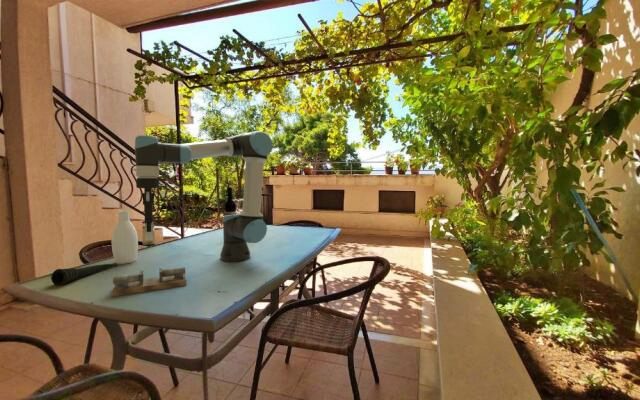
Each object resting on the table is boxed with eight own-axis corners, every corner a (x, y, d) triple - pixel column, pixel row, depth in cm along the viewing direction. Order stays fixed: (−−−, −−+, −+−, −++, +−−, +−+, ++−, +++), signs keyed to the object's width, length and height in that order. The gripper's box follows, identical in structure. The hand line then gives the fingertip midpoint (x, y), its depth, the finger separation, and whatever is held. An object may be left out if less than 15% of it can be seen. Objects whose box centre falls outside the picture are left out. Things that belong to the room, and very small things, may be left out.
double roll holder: (184, 278, 125) (184, 264, 125) (186, 285, 117) (186, 270, 117) (115, 288, 114) (115, 272, 113) (112, 296, 106) (111, 279, 105)
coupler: (154, 242, 117) (154, 225, 116) (154, 244, 113) (154, 226, 113) (142, 243, 115) (142, 225, 114) (142, 245, 111) (142, 227, 111)
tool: (63, 287, 115) (62, 270, 114) (50, 286, 116) (49, 269, 116) (124, 266, 142) (124, 253, 141) (113, 265, 143) (112, 252, 143)
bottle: (133, 257, 157) (131, 209, 155) (142, 260, 151) (140, 210, 149) (108, 262, 148) (106, 211, 146) (117, 266, 142) (115, 212, 140)
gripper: (137, 177, 118) (139, 236, 120) (134, 177, 103) (136, 244, 105) (158, 177, 122) (160, 234, 123) (159, 177, 107) (160, 242, 108)
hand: (149, 238), depth 114 cm, fingers closed on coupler, 4 cm apart
